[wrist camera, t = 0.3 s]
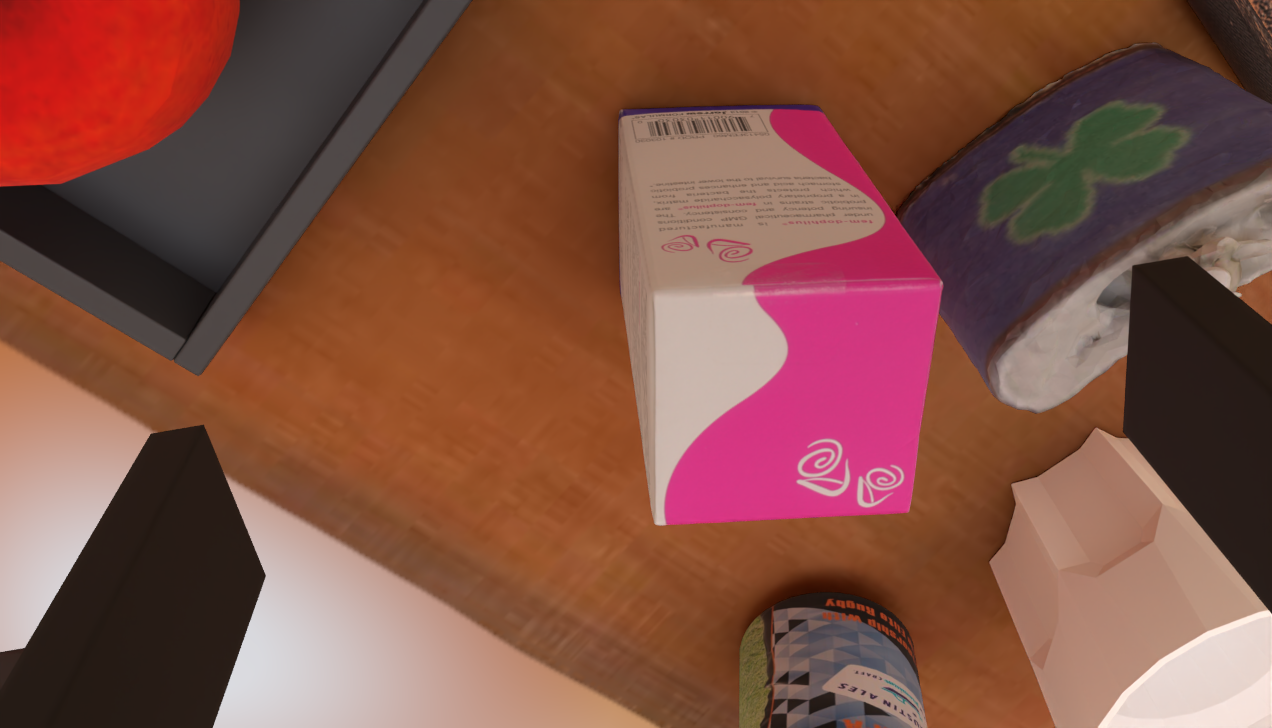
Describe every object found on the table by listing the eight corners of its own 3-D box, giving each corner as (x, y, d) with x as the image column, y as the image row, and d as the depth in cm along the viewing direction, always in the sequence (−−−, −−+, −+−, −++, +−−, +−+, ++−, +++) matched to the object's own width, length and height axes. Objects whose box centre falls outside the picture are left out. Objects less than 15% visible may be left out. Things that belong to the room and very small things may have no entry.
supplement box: (618, 301, 34) (644, 533, 24) (616, 105, 31) (644, 275, 21) (811, 295, 34) (916, 523, 24) (826, 101, 31) (952, 267, 21)
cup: (1172, 344, 36) (1369, 535, 27) (1303, 532, 40) (1513, 751, 31) (910, 520, 39) (1014, 746, 30) (1058, 680, 42) (1188, 920, 34)
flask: (913, 280, 34) (1049, 479, 25) (864, 206, 33) (987, 386, 24) (1197, 96, 32) (1464, 237, 23) (1155, 10, 31) (1419, 121, 21)
